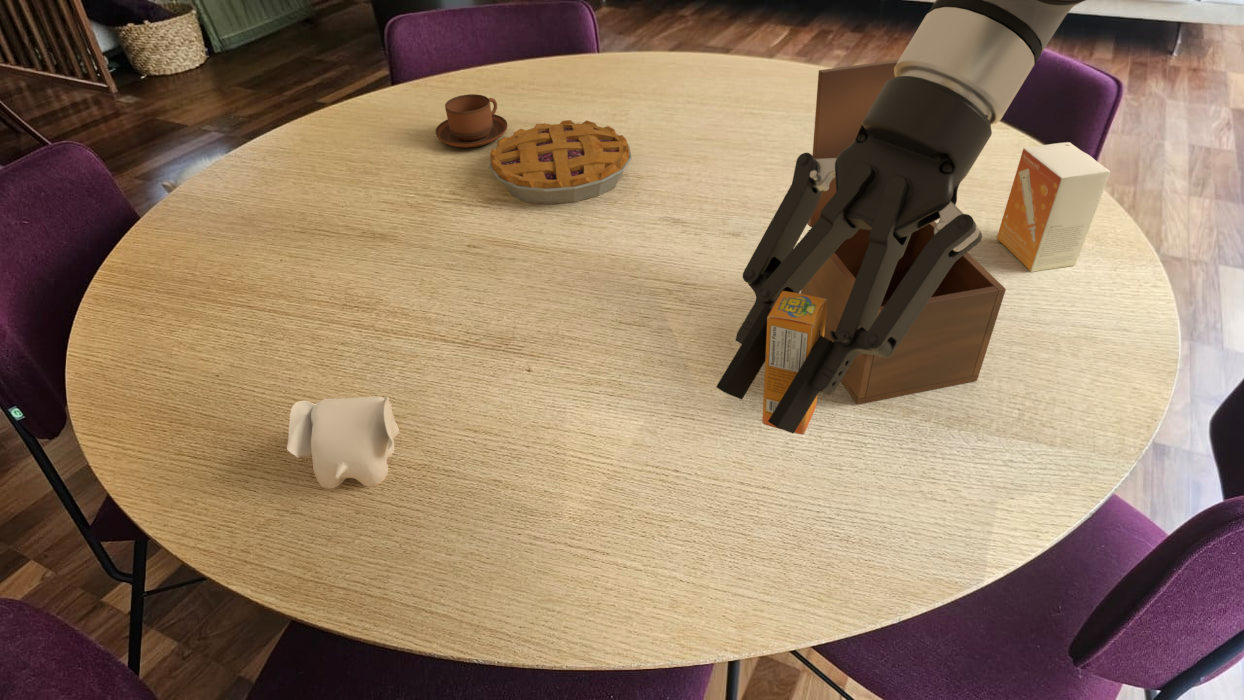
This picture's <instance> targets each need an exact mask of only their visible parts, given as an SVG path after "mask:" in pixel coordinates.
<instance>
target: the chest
mask: <svg viewBox="0 0 1244 700" xmlns="http://www.w3.org/2000/svg"><path fill="white" fill-rule="evenodd" d="M937 223H938V222H936V221H934V222H932V223H930V224H928V225H926V226H924V227H922V228H920V229H919V230H917V231H915V232H913V233H912V234H911V236H910V239H909V242H908V244H907V247H906V249H905V252H904V255H903V256H902V258H900V259H899V260H898V262H897V265H896V267H895V270H894V273H893V275H892V278H891V280H890V283H889V286H888V288H887V291H886V293H885V296H884V299H883V301H882V304H881V307H880V309H879V312H878V314H877V317H878V315H879V314H880V312H881V311H882V309H883V308H884V306H885V305H886V303H887V302H888V300H889V299H890V297H891V296H892V294H893V293H894V291H895V290H896V288H897V287H898V285H899V284H900V282H901V281H902V279H903V278H904V276H905V275H906V273H907V272H908V270H909V269H910V267H911V266H912V265H913V263H914V262H915V260H916V259H917V257H918V256H919V254H920V253H921V251H922V250H923V248H924V247H925V245H926V244H927V243H928V241H929V240H930V239H931V238H932V237H933V236H934V228H935V226H936V224H937ZM870 231H871V230H866V229H859V230H858V231H857V232H856V233H855V234H854V236H852V237H851V238H850V239H846V240H845V241H844V242H843V243H842V244H841V245H840V246H839V247H838V249H837V250H836V251H835V252H834V253H833V254H832V255H831V257H830V258H829V259H828V260H827V261H826V262H825V263H824V265H823V266H822V267H821V268H820V269H819V270H818V271H817V273H816V274H815V275H814V276H813V277H812V278H811V280H810V281H809V282H808V283H807V284H806V285H805V286H804V288H803V289H802V290H801V291H800V294H805V295H809V296H814V297H819V298H826V299H827V313H826V323H825V333H824V337H825V338H827V339H828V340H830V341H832V342H834V340H833V339H832V338H831V335H830V332H831V330H832V331H834V332H836V330H837V327H838V324H839V322H840V319H841V317H842V314H843V311H844V309H845V306H846V304H847V301H848V298H849V296H850V293H851V290H852V288H853V285H854V283H855V280H856V277H857V275H858V272H859V270H860V267H861V264H862V262H863V259H864V257H865V254H866V251H867V249H868V246H869V235H870ZM1006 290H1007V289H1006V287H1004V285H1002V284H1001V283H1000V282H999V281H998V280H997V279H996V278H995V277H994V276H993V275H992V274H991V273H990V272H989V271H988V270H987V269H986V268H984V266H983V265H981V263H979V262H978V260H976V259H975V258H974V257H973V256H972V255H971V254H970V253H969V251H968V252H967V253H966V254H964V255H963V256H962V257H960V258H959V259H958V260H957V261H955V263H954V264H953V266H952V267H951V269H950V270H949V271H948V273H947V274H946V276H945V277H944V279H943V280H942V282H941V283H940V285H939V286H938V288H937V289H936V291H935V292H934V294H933V295H932V297H931V298H930V299H929V301H928V302H927V304H926V305H925V307H924V308H923V310H922V311H921V313H920V314H919V316H918V317H917V319H916V320H915V322H914V323H913V324H912V326H911V327H910V329H909V330H908V332H907V333H906V335H905V336H904V338H903V339H902V341H901V342H900V344H899V345H898V347H897V348H896V350H895V351H894V352H893V354H892V355H891V356H889V357H887V358H882V357H880V356H877V355H870V354H861V355H859V356H857V357H856V358H855V359H854V360H853V362H852V364H851V365H850V367H849V369H848V370H847V372H846V373H845V375H844V377H843V378H842V380H841V381H840V382H841V383H842V385H843V386H844V387H845V389H846V390H847V392H848V393H849V395H850V397H851V398H852V399H853V401H854V402H855V404H856V405H863V404H867V403H871V402H876V401H882V400H886V399H892V398H896V397H901V396H907V395H911V394H912V395H913V394H917V393H921V392H927V391H932V390H936V389H942V388H948V387H952V386H957V385H961V384H962V385H963V384H967V383H972V382H977V381H978V379H979V376H980V373H981V370H982V367H983V363H984V361H985V357H986V354H987V350H988V348H989V345H990V341H991V338H992V334H993V332H994V329H995V325H996V322H997V319H998V316H999V312H1000V309H1001V307H1002V303H1003V300H1004V296H1005V293H1006ZM877 317H876V318H877Z"/></svg>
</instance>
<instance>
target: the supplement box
mask: <svg viewBox="0 0 1244 700" xmlns="http://www.w3.org/2000/svg"><path fill="white" fill-rule="evenodd" d="M826 313H827V299H826V298H819V297H814V296H809V295H805V294H801V293H800V292H799V293H793V292H787V291H782V292H781V294H780V296H779V297H778V299H777V301H776V303H775V304H774V306H773V308H772V310H771V312H770V313H769V315H768V317H767V338H766V355H765V362H764V380H763V384H764V385H763V397H762V398H763V399H762V400H763V401H762V419H761V423H762V424H763V425H765V426H768V427H771V428H775V429H778V430H782V431H784V430H783V429H780V428H777V427H776V426H774V425H773V424H771V423H770V422H768V420H769V419H770V417H771V415H772V414H773V412H774V411H775V409H776V407H777V406H778V404H779V402H780V401H781V399H782V397H783V396H784V394H785V393H786V391H787V389H788V388H789V386H790V384H791V383H792V381H793V379H794V378H795V376H796V375H797V373H798V371H799V370H800V368H801V366H802V365H803V363H804V361H805V360H806V358H807V357H808V355H809V353H810V352H811V350H812V348H813V347H814V345H815V343H816V342H817V340H818V338H819V337H820V335H821V336H823V337H824V333H825V323H826ZM818 396H819V394H818V395H817V396H816V398H815V400H814V401H813V403H812V404H811V406H810V408H809V409H808V411H807V413H806V414H805V416H804V417H803V419H802V421H801V422H800V424H799V426H798V427H797V429H796V430H795V432H794V434H798V435H803V436H804V434H805V433H806V431H807V430H808V429H807V428H808V427H809V425H810V423H811V420H812V418H813V415H814V413H815V410H816V408H817V402H818Z"/></svg>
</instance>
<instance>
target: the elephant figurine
mask: <svg viewBox="0 0 1244 700" xmlns="http://www.w3.org/2000/svg"><path fill="white" fill-rule="evenodd" d="M392 405H393V404H392V403H391V402H390V397H389V396H387V395H386V396H385V397H383V396H381V395H374V396H373V395H372V396H360V397H359V396H357V397H339V398H338V397H337V398H324V399H321V400H319V401H317V402H316V403H314V402H312V401H309V400H299V401H296V402H295V403H294V404H293V405H292V406H291V408H290V412H289V420H288V421H289V422H288V434H287V435H288V436H287V445H286V450H287V451H288V452H289V453H290V454H291V455H293V456H295V458H297V459H300V458H307V457H310V456H311V460H312V468H313V474H314V476H315V478H316V481H317V483H318V484H319V485H320V486H321V487H322V488H324V489H329V490H330V489H335V488H337V487H340V486H341V485H342V484H343V483H344V481H345V480H346V479H354V480H356V481H358V482H359V483H360V484H361V485H362V486H364V487H369V488H370V487H373V486H377V485H379V484H380V483H382V482H383V481H385V479H386V477H387V476H388V474H389V464H388V459H389V458H390V457H391V456H393V454H394V452H395V448H396V447H395V440H394V439H395V438H396V437H398V436H399V433H400V427H399V425H398V424H397V422H396V419H395V416H394V413H393V409H392Z"/></svg>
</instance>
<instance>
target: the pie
mask: <svg viewBox="0 0 1244 700" xmlns="http://www.w3.org/2000/svg"><path fill="white" fill-rule="evenodd" d="M632 156H633V155H632V151H631V146H630V144H629V143H628V140H627V138H626V137H624V135H622V134H618V133H617V132H616V130H615V129H614V128H613V127H611V126H609V125H607V126H604V127H602V126H598V125H597V124H596V122H593V121H590V120H584V121H583V122H582V123H575V122H573V120H571V119H567V120H562V121H561V122H560V123H555V124H550V123H545V122H543V123H536V124H535V125H534V126H533V128H528V129H523V128H519V129H518V130H516V131H515V132H513V134H512V135H511V136H509V137H507V136H504V137H502V138H499V139H498V140H497V143H496V147H495V148H492V149H491V150H490V155H489V164H488V169H489V170H490V171H491V173H492V174H493V175H494V177H495V179H497V180H498V181H499V182H500V183H502V184H503V185H504V187H505V188H506V189H507V191H508V192H509V193H510V194H511V196H514V197H516V198H518V199H520V200H522V201H523V202H525V203H535V204H542V205H553V204H566V203H567V204H568V203H576V202H580V201H583V200H587V199H591V198H595V197H599V196H601V195H603V194H605V193H607V192H608V191H611V190H612V189H614V188H616V187H617V185H618V183H619V181H620V180H621V178H622V176H623V174H624V172H625V170H626V168H627V167H628V165H629V164H630V163H631V161H632V159H633V157H632Z"/></svg>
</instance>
